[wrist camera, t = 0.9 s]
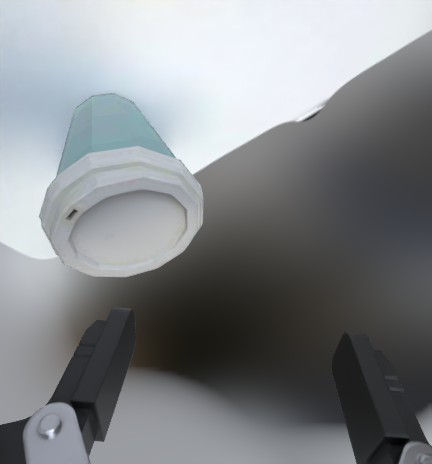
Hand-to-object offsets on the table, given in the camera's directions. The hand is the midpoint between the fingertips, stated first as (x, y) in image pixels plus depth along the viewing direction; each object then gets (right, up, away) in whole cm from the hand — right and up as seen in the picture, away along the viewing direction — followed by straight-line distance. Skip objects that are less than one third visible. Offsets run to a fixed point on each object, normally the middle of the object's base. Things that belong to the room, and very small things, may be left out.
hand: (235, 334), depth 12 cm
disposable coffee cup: (-11, +14, +18) cm, 25 cm away
